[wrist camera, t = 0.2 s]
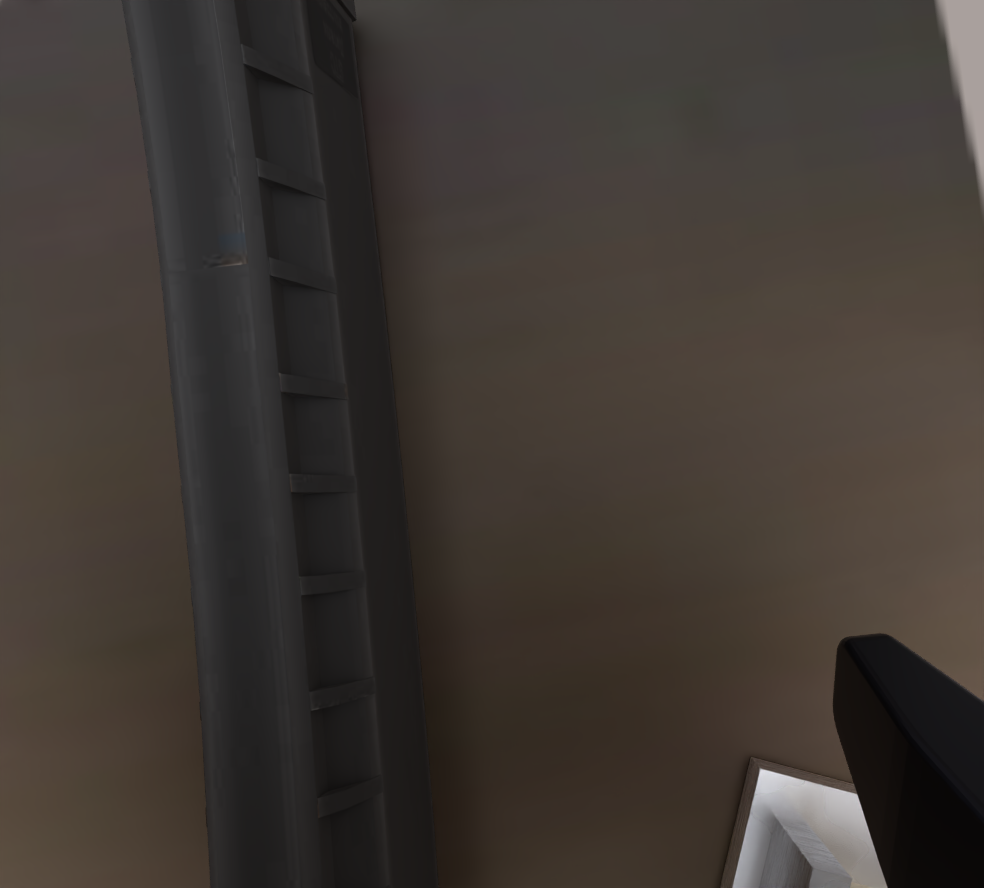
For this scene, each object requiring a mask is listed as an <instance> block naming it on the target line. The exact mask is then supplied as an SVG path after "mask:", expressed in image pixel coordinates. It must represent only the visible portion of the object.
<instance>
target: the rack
mask: <svg viewBox="0 0 984 888" xmlns="http://www.w3.org/2000/svg"><path fill="white" fill-rule="evenodd" d="M851 882H853V883H857V884H861V885H865V886H868V887H872V888H887V885H886V882H885V879H884V876H883V873H882V870H881V867H880V864H879V861H878V858H877V855H876V852H875V849H874V846H873V842H872V839H871V836H870V833H869V830H868V827H867V823H866V820H865V817H864V814H863V811H862V808H861V805H860V801H859V798H858V795H857V792H856V789H855V786H854V784H852V783H848V782H844V781H841V780H837V779H833V778H829V777H825V776H822V775H818V774H814V773H810V772H806V771H803V770H799V769H795V768H791V767H787V766H784V765H780V764H776V763H772V762H768V761H765V760H761V759H757V758H753V757H751V758H750V762H749V767H748V771H747V775H746V779H745V784H744V788H743V792H742V796H741V800H740V805H739V809H738V813H737V817H736V822H735V826H734V830H733V834H732V838H731V843H730V847H729V851H728V855H727V859H726V864H725V868H724V872H723V876H722V881H721V885H720V888H850V886H851Z"/></svg>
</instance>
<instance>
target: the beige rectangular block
mask: <svg viewBox="0 0 984 888" xmlns="http://www.w3.org/2000/svg"><path fill="white" fill-rule="evenodd" d="M850 888H872V887H868V886H865V885H861V884H857V883H853V882H851V886H850Z"/></svg>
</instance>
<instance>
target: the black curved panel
mask: <svg viewBox="0 0 984 888" xmlns="http://www.w3.org/2000/svg"><path fill="white" fill-rule="evenodd" d="M122 5H123V11H124V17H125V23H126V29H127V34H128V40H129V46H130V52H131V62H132V69H133V75H134V80H135V85H136V91H137V97H138V104H139V111H140V118H141V125H142V132H143V139H144V146H145V153H146V160H147V167H148V179H149V186H150V192H151V197H152V205H153V213H154V221H155V229H156V237H157V246H158V254H159V262H160V276H161V286H162V291H163V300H164V311H165V321H166V332H167V343H168V354H169V365H170V376H171V393H172V403H173V407H174V417H175V427H176V437H177V447H178V457H179V467H180V476H181V493H182V503H183V507H184V517H185V527H186V538H187V548H188V559H189V569H190V579H191V598H192V606H193V614H194V627H195V640H196V654H197V667H198V680H199V693H200V717H201V723H202V740H203V758H204V776H205V793H206V824H207V829H208V848H209V867H210V886H211V888H439V887H438V873H437V860H436V846H435V832H434V819H433V806H432V793H431V781H430V769H429V756H428V744H427V732H426V720H425V708H424V697H423V685H422V674H421V663H420V651H419V640H418V629H417V618H416V608H415V597H414V587H413V576H412V566H411V555H410V545H409V535H408V525H407V514H406V504H405V494H404V484H403V474H402V464H401V455H400V445H399V436H398V426H397V416H396V407H395V397H394V388H393V379H392V370H391V360H390V351H389V342H388V333H387V324H386V314H385V305H384V297H383V288H382V279H381V270H380V262H379V253H378V244H377V236H376V227H375V218H374V209H373V201H372V192H371V183H370V175H369V166H368V157H367V149H366V140H365V131H364V122H363V114H362V105H361V96H360V88H359V79H358V70H357V62H356V53H355V44H354V35H353V27H352V22H354V21H356V12H355V5H354V0H122Z"/></svg>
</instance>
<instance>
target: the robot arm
mask: <svg viewBox="0 0 984 888" xmlns="http://www.w3.org/2000/svg"><path fill="white" fill-rule="evenodd" d="M833 714H834V720H835V725H836V729H837V732H838V735H839V738H840V742H841V745H842V748H843V751H844V754H845V757H846V760H847V764H848V767H849V770H850V773H851V776H852V779H853V783H854V786H855V789H856V792H857V795H858V798H859V801H860V805H861V808H862V811H863V814H864V817H865V820H866V823H867V827H868V830H869V833H870V836H871V839H872V842H873V846H874V849H875V852H876V855H877V858H878V861H879V864H880V867H881V870H882V873H883V876H884V879H885V882H886V885H887V888H984V701H983V700H981V699H980V698H978V697H977V696H975V695H974V694H973V693H971V692H970V691H968V690H967V689H966V688H964V687H963V686H961V685H960V684H958V683H957V682H956V681H954V680H953V679H951V678H950V677H949V676H947V675H946V674H944V673H943V672H942V671H940V670H939V669H937V668H936V667H934V666H933V665H932V664H930V663H929V662H927V661H926V660H925V659H923V658H922V657H920V656H919V655H918V654H916V653H915V652H913V651H912V650H910V649H909V648H908V647H906V646H905V645H903V644H902V643H901V642H899V641H898V640H896V639H895V638H893V637H892V636H889V635H887V634H882V633H878V634H869V635H860V636H850V637H846V638H844V639H842V640H841V641H840V643H839V645H838V648H837V655H836V668H835V681H834V693H833Z"/></svg>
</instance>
